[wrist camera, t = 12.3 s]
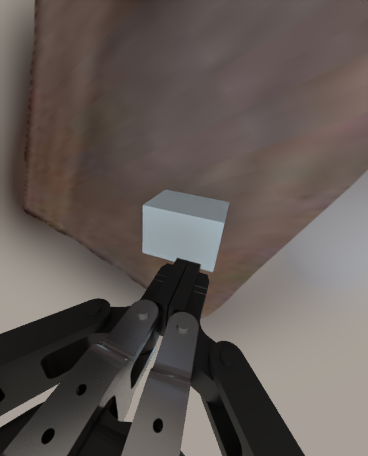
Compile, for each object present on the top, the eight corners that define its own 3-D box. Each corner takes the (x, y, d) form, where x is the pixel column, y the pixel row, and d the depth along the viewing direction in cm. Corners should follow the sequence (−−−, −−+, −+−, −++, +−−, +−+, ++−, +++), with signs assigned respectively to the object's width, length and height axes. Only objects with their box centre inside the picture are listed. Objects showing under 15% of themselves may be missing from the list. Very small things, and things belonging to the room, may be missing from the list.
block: (160, 228, 46) (139, 251, 37) (162, 188, 42) (139, 204, 33) (220, 243, 43) (213, 272, 34) (229, 202, 39) (224, 222, 30)
